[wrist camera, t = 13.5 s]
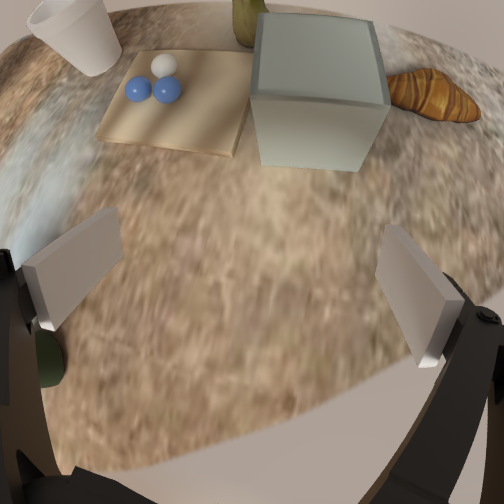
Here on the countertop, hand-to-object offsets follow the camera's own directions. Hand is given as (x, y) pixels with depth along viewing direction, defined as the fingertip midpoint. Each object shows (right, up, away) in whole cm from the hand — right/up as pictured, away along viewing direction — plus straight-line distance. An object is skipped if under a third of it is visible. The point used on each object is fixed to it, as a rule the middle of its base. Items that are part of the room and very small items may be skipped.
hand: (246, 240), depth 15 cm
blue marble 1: (-12, +17, +15) cm, 25 cm away
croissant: (+20, +16, +14) cm, 29 cm away
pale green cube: (+6, +12, +14) cm, 19 cm away
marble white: (-9, +19, +16) cm, 27 cm away
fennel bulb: (+1, +25, +17) cm, 30 cm away
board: (-8, +16, +16) cm, 24 cm away
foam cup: (-20, +26, +19) cm, 38 cm away
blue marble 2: (-8, +16, +15) cm, 23 cm away
